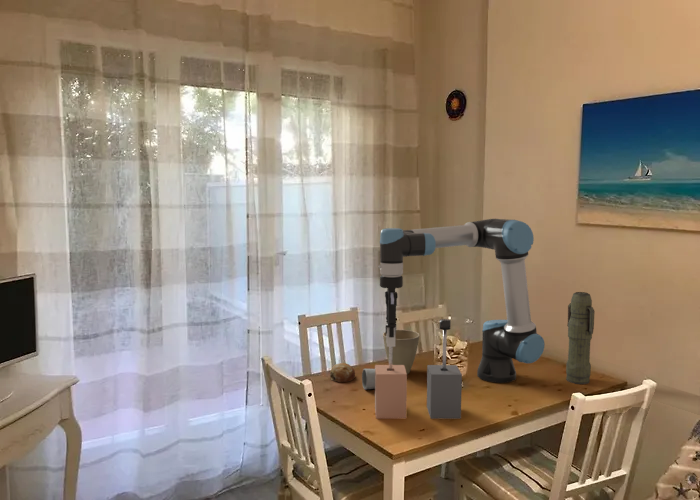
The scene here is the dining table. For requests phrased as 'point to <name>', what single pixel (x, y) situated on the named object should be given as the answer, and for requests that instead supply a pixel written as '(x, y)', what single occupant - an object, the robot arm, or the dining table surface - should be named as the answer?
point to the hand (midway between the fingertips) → (390, 344)
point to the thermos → (579, 338)
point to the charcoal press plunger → (444, 338)
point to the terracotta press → (390, 391)
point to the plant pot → (403, 348)
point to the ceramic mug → (368, 378)
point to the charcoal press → (444, 392)
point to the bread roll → (342, 372)
